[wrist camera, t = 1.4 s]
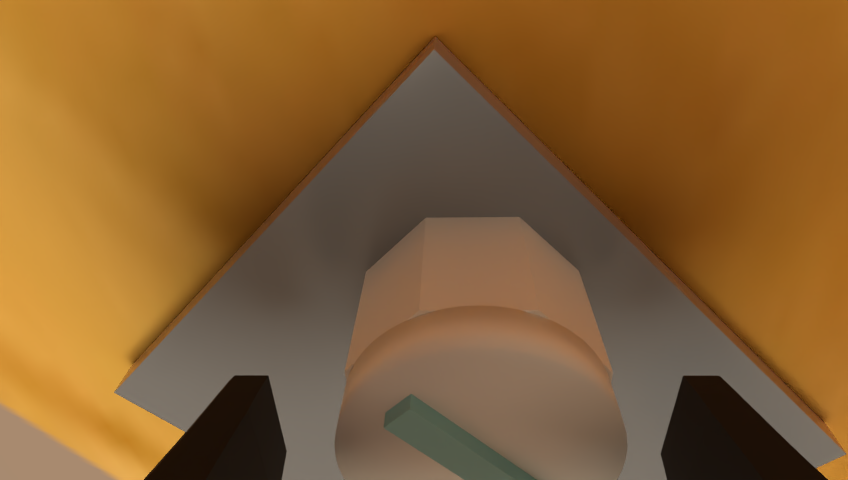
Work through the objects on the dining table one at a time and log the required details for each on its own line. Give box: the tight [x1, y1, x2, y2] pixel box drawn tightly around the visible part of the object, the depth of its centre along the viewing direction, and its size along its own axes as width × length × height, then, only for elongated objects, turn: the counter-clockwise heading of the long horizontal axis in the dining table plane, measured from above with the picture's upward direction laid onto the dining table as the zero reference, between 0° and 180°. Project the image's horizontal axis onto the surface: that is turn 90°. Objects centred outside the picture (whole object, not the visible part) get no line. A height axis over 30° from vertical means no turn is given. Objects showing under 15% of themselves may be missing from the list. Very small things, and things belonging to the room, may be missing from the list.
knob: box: [334, 217, 628, 480], centre depth 11 cm, size 5×5×4 cm
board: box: [114, 37, 846, 480], centre depth 14 cm, size 15×12×4 cm
